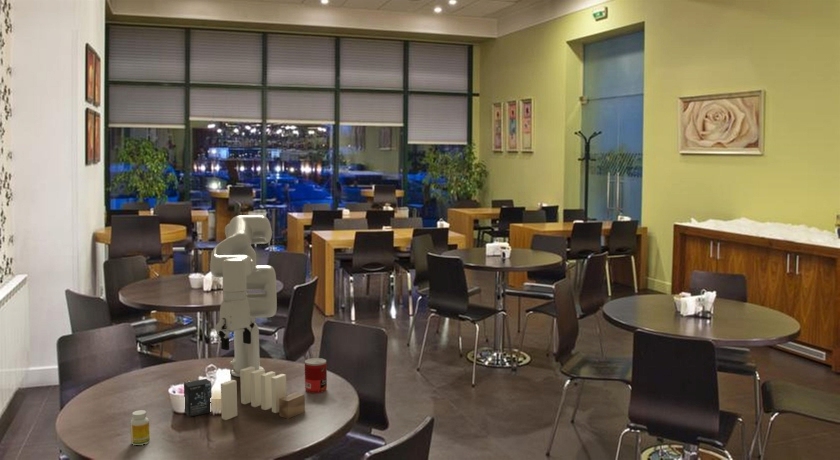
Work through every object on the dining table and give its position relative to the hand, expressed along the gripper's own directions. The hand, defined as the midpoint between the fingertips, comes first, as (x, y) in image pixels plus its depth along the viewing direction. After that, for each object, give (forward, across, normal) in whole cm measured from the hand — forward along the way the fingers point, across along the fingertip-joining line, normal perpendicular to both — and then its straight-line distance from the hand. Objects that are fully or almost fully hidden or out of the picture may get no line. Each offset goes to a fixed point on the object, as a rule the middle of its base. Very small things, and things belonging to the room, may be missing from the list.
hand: (236, 346), depth 255 cm
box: (+23, +7, -12) cm, 27 cm away
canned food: (+23, -33, +6) cm, 41 cm away
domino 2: (+23, -10, -6) cm, 26 cm away
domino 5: (+23, -10, +9) cm, 27 cm away
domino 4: (+23, -10, +4) cm, 26 cm away
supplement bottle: (+24, +34, -6) cm, 42 cm away
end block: (+23, -10, +15) cm, 29 cm away
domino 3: (+23, -10, -1) cm, 25 cm away
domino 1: (+23, +4, 0) cm, 24 cm away
